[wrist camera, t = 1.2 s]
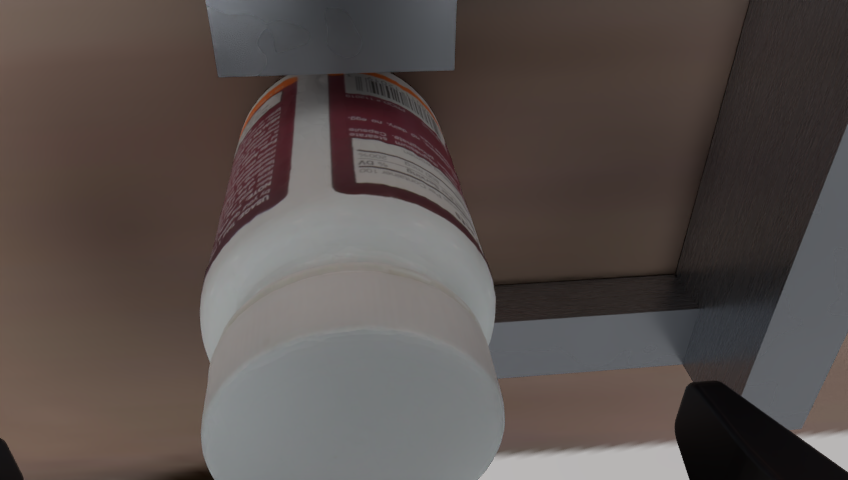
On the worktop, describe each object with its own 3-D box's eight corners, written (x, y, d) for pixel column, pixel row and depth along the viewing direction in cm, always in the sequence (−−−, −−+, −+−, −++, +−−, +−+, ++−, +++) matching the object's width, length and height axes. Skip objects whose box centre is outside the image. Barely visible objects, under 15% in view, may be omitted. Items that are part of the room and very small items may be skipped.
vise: (1081, -142, 14) (1314, -119, 11) (860, 314, 21) (960, 414, 17) (214, -144, 12) (171, -117, 9) (284, 355, 19) (275, 475, 16)
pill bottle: (284, 261, 17) (254, 582, 10) (204, 91, 15) (90, 370, 8) (464, 211, 17) (557, 505, 10) (417, 29, 14) (499, 258, 7)
